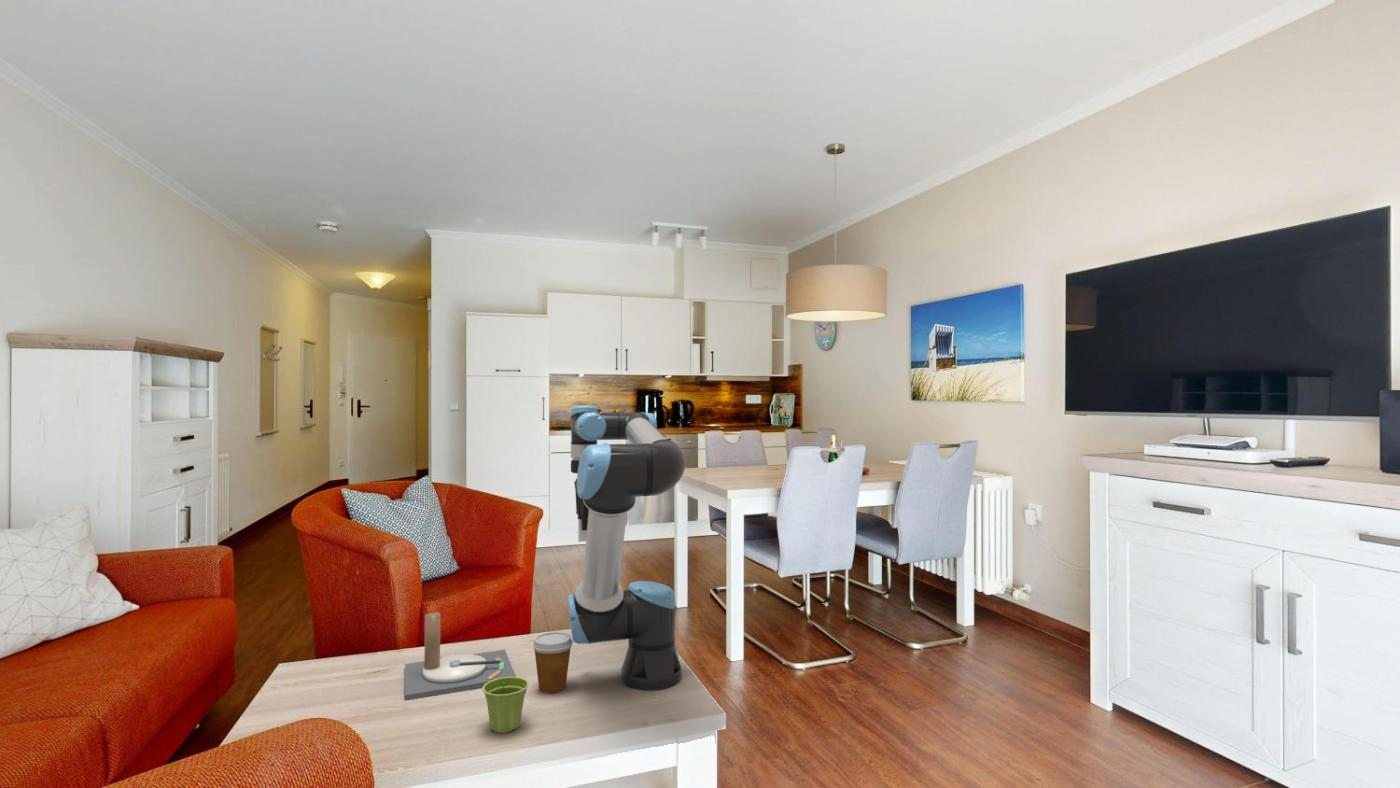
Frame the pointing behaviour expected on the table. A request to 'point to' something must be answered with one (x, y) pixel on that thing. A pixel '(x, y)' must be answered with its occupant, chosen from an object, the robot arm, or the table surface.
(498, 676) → the dial plate
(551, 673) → the disposable coffee cup
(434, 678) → the post on round base
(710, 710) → the table surface
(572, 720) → the table surface
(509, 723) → the plant pot
